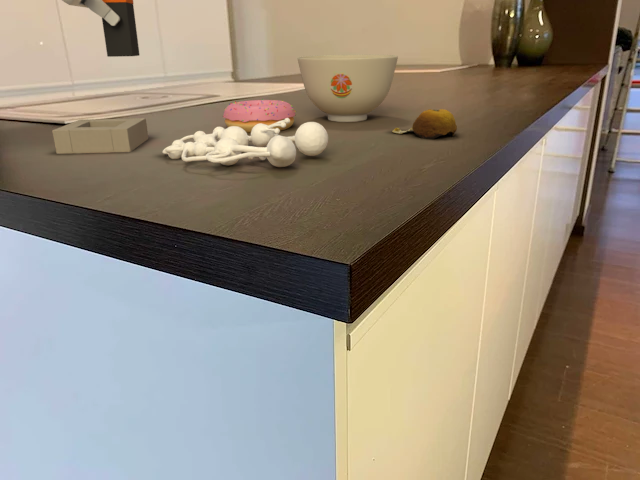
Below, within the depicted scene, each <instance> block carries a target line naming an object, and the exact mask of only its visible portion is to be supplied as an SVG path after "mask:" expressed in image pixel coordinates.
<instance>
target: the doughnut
mask: <svg viewBox="0 0 640 480" xmlns="http://www.w3.org/2000/svg"><path fill="white" fill-rule="evenodd" d="M296 112H297V110H295V108H294V106H293V105H292V104H291V103H289V102H287V101H284V100H283V99H281V100H279V99H278V100H277V99H264V98H262V99H252V100H240V101H236V100H235V101H233V102H231V103H229V104H228V105H227V106H226V108H224V111H223V115H222V118H223V119H224V124H225V125H226V127H227V128H228V127H231V126H238V127H240V128H242V129H243V130H245V131H246V133H247V134H251V131H252V128H253V127H254V126H255V125H257V124H259V123H262V124H266V125H268V126H269V125H271V124H274V123H276V122H279V121H282V120H285V118H289V119H290V122H289V123H288V124H286V127H285V128H282V127H281V126H277V127H273V128H272V129H276V128H278V129H279V130H280V132H281V131H285V130H288V129H290V128H291V127H292V126H293V124H294V123H295V116H297V114H296Z"/></svg>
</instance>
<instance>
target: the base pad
mask: <svg viewBox="0 0 640 480" xmlns="http://www.w3.org/2000/svg"><path fill="white" fill-rule="evenodd" d="M148 132H149V131H148V123H147V118H146V117H140V118H139V117H135V118H95V119H94V118H91V119H88V118H87V119H78V120H75V121H73V122H70V123H68V124H65V125H63V126H60V127H57V128H55V129H52V137H53V142H54V143H53V144H54V146H55V152H56V153H55V154H58V155H59V154H60V155H61V154H62V155H63V154H93V153H94V154H100V153H101V154H102V153H131V152H132V151H134V150H135V149H136V148H138V147H139V146H141V145H142V144H144V143H145V142H147V141H148V140H149V133H148Z"/></svg>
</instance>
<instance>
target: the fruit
mask: <svg viewBox="0 0 640 480" xmlns="http://www.w3.org/2000/svg"><path fill="white" fill-rule="evenodd" d="M457 130H458V126H457V123H456V119H455V116H454V115H453V114H452V112H451V111H450V110H447V109H444V108H440V109H432V108H430V109H426V110H423V111H422V112H421V113H420V114H419V115H418V116H417V117H416V119H415V120H414V121H413V123H412V127H410V128H409V129H407V130H402V129H400V127H395V128H393V130H391V131H392V133H394V134H398V135H399V134H400V135H401V134H405V133H408V132H410V131H412V132H413V133H414V134H415V135H416V136H417V137H419V138H420V139H423V140H435V139H436V138H438V137H440V136H445V135H452V136H455V134H456V132H457Z"/></svg>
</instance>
